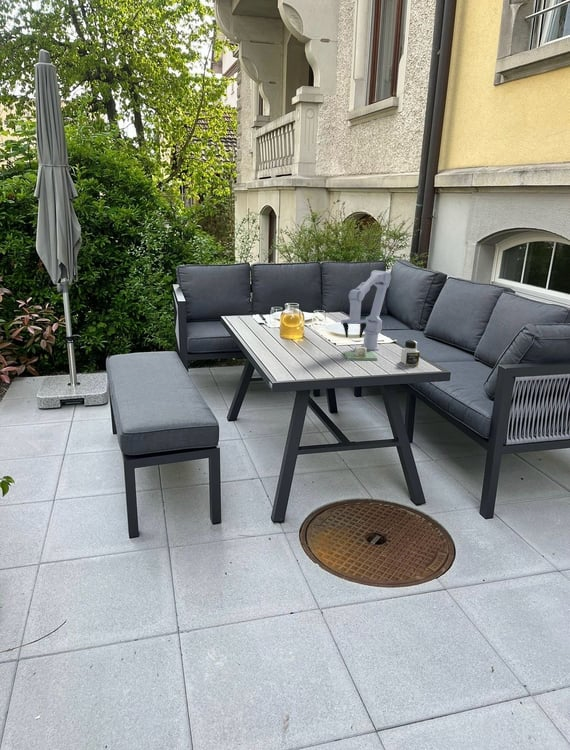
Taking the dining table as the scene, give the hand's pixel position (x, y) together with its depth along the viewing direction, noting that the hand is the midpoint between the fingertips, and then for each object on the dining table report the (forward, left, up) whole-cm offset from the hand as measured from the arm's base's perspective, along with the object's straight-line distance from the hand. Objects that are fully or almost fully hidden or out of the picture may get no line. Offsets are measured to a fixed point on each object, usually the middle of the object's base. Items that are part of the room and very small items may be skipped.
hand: (353, 336), depth 307 cm
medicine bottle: (+17, +27, -10) cm, 33 cm away
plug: (+6, +3, -9) cm, 11 cm away
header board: (+6, +3, -10) cm, 12 cm away
